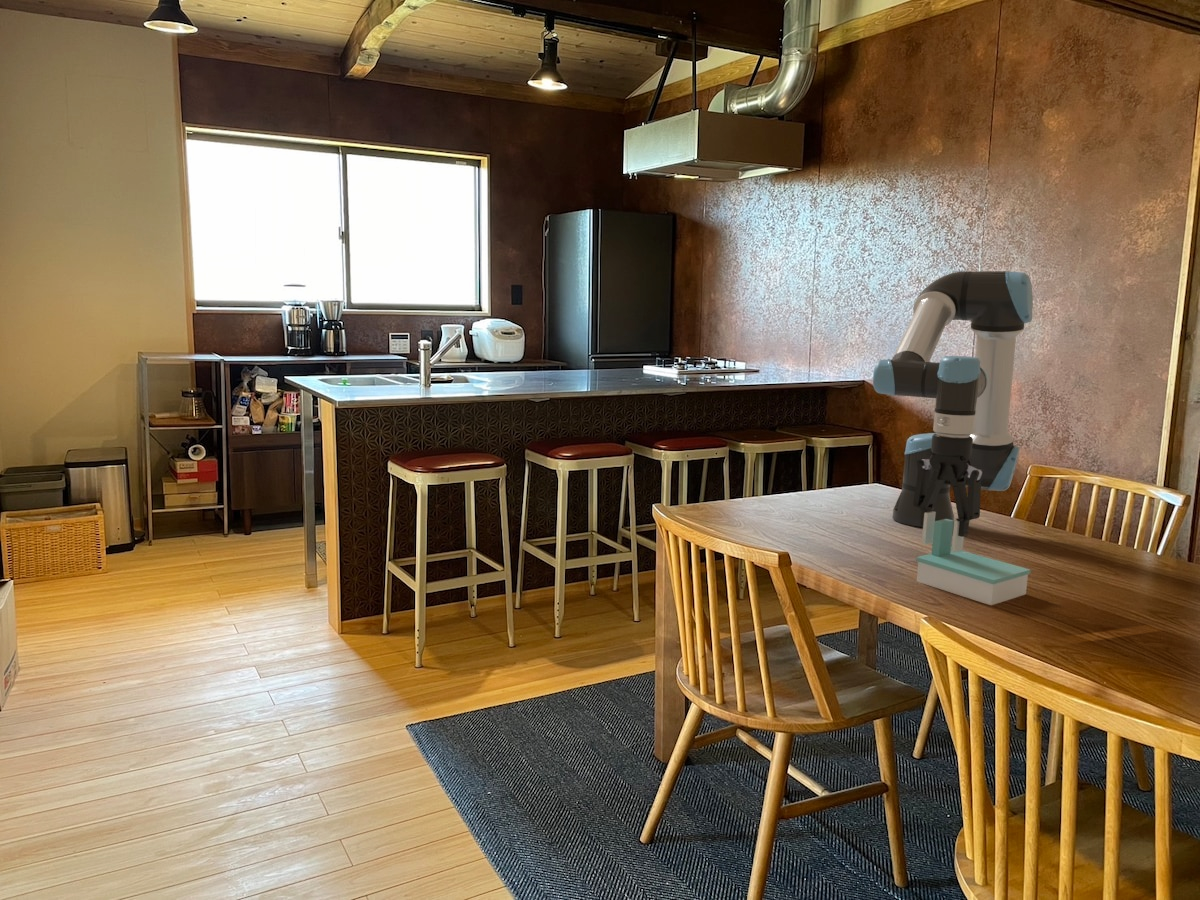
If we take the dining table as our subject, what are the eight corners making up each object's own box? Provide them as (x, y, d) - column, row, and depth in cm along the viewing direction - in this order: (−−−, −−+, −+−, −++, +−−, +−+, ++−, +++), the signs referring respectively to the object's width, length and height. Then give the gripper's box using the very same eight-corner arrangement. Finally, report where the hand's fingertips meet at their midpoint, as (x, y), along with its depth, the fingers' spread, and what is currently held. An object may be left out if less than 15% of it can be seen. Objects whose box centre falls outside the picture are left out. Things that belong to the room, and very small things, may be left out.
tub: (951, 575, 180) (953, 552, 180) (1025, 598, 168) (1028, 573, 167) (916, 585, 174) (918, 561, 173) (990, 609, 161) (993, 583, 160)
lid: (952, 554, 180) (956, 515, 179) (1029, 576, 167) (1034, 534, 165) (915, 563, 173) (919, 523, 172) (993, 587, 160) (997, 543, 158)
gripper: (900, 429, 176) (890, 538, 180) (986, 443, 161) (974, 561, 165) (922, 426, 181) (912, 533, 185) (1009, 440, 165) (996, 556, 169)
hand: (941, 546), depth 175 cm, fingers open, 6 cm apart
